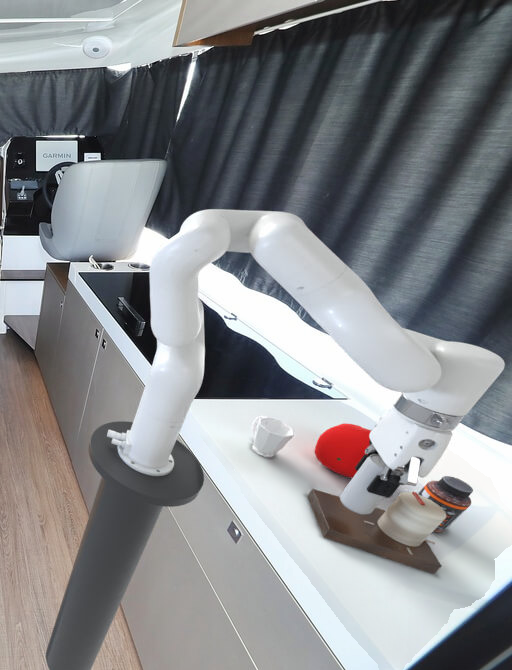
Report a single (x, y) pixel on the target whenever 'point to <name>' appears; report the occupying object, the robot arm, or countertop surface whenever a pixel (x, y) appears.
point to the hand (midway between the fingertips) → (371, 482)
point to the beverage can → (364, 486)
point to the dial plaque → (367, 533)
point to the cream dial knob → (411, 518)
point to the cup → (270, 435)
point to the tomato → (342, 448)
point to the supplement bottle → (448, 498)
